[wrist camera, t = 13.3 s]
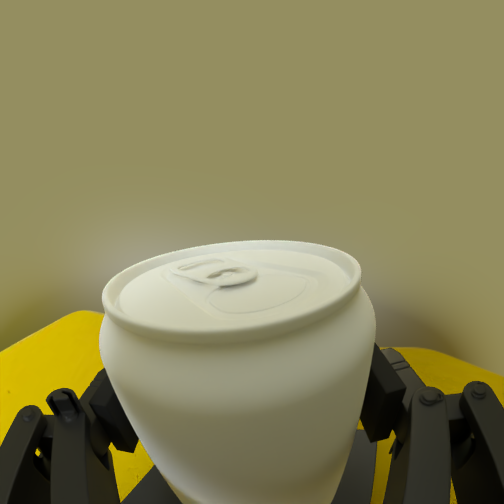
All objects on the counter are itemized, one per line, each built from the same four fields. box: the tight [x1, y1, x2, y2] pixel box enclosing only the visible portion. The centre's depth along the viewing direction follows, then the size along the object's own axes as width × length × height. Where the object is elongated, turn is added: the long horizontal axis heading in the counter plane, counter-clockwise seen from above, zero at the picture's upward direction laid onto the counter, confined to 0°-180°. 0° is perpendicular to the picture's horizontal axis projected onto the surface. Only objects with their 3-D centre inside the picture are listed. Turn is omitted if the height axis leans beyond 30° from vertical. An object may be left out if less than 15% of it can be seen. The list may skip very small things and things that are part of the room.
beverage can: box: [99, 240, 376, 504], centre depth 9 cm, size 8×8×12 cm
